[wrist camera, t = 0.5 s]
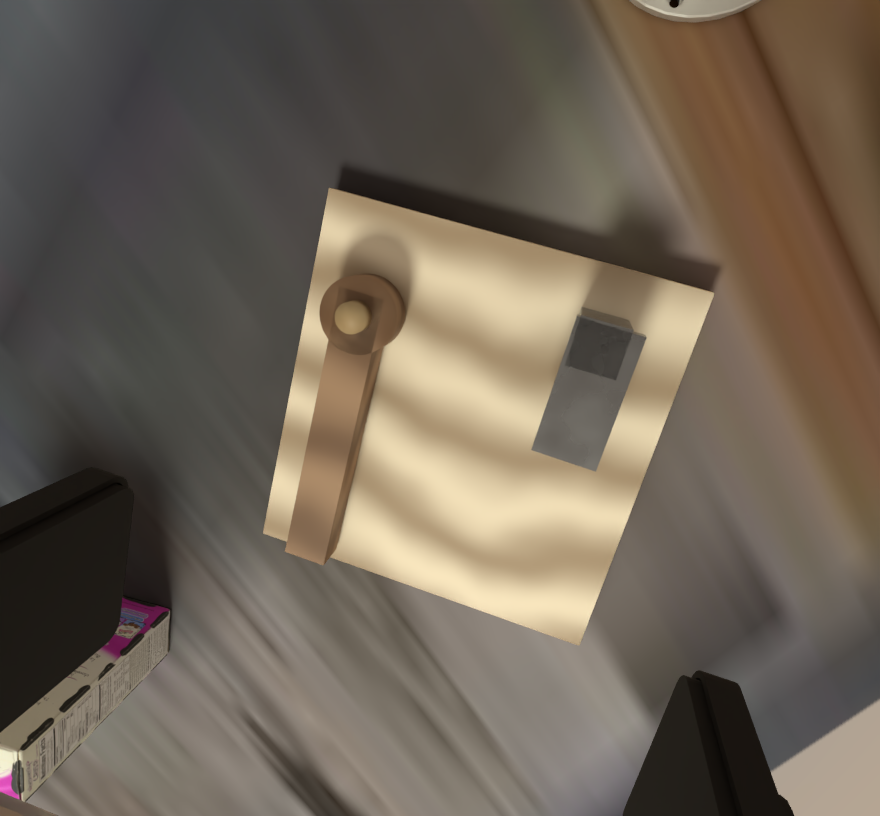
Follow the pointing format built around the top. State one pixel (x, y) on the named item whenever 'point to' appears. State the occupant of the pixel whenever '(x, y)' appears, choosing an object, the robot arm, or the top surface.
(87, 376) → the top surface
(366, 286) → the walnut link
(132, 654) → the candy bar box
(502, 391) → the birch board
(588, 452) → the block
